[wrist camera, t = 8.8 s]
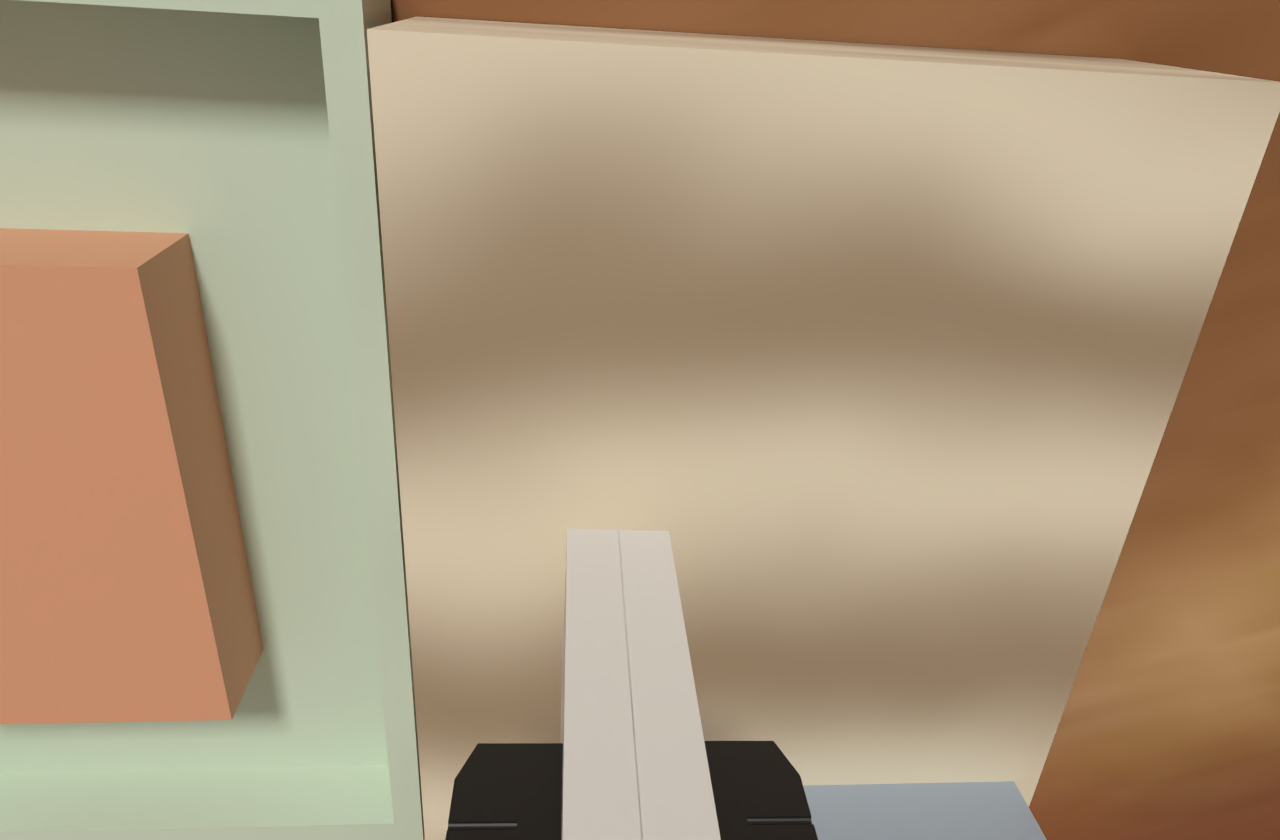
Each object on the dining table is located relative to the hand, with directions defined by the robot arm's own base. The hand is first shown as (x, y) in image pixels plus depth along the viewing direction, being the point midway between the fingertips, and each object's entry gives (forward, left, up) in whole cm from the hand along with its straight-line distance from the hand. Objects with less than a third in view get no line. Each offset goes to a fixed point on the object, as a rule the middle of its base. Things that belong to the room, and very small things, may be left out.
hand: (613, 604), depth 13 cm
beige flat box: (+2, +3, -5) cm, 6 cm away
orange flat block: (0, -10, -4) cm, 11 cm away
